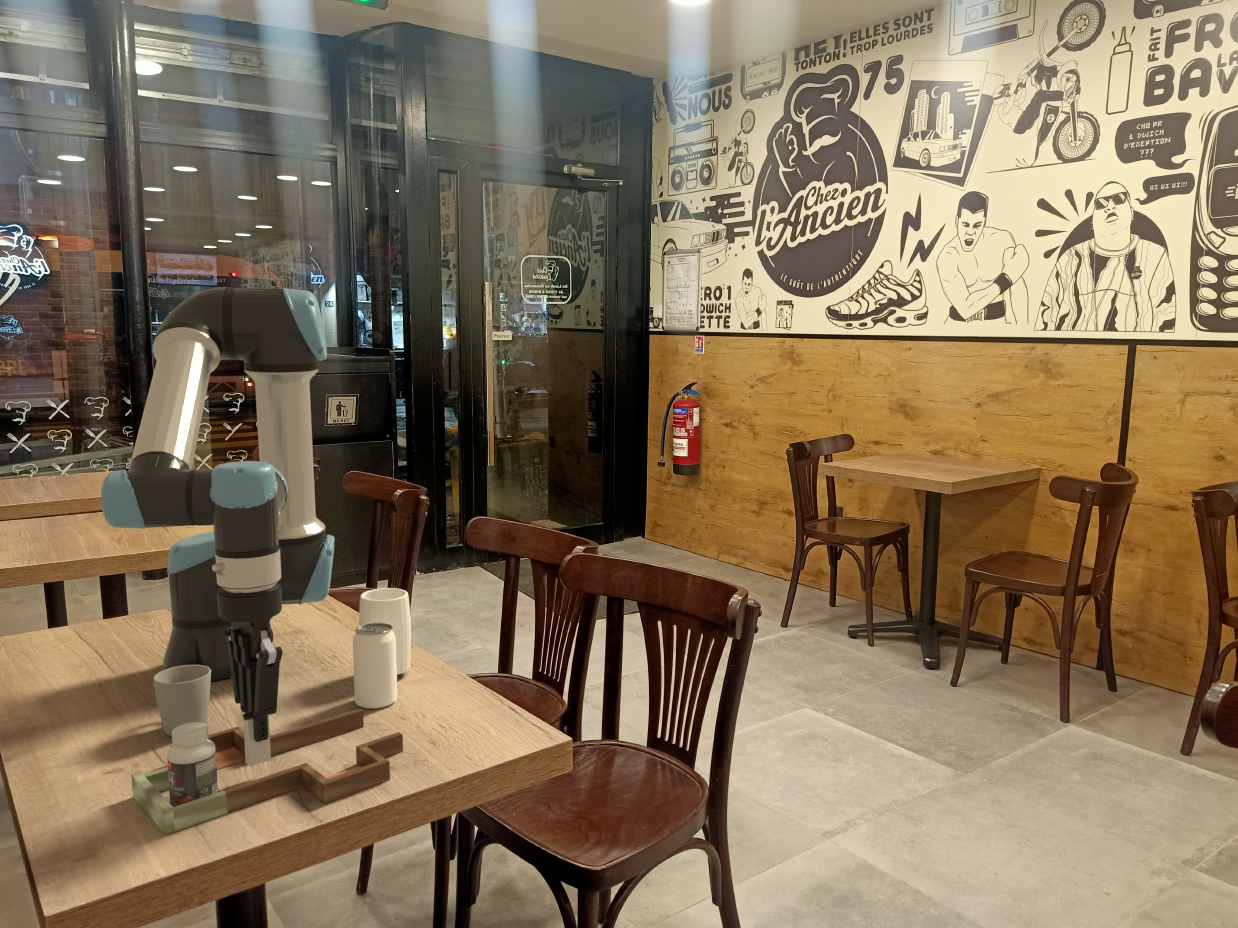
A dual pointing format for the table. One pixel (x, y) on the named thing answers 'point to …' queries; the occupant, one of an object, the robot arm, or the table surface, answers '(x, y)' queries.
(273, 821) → the table surface
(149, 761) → the table surface
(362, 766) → the trap lane
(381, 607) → the cup
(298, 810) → the table surface
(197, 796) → the pill bottle
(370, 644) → the can
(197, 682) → the cup
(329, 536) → the robot arm
